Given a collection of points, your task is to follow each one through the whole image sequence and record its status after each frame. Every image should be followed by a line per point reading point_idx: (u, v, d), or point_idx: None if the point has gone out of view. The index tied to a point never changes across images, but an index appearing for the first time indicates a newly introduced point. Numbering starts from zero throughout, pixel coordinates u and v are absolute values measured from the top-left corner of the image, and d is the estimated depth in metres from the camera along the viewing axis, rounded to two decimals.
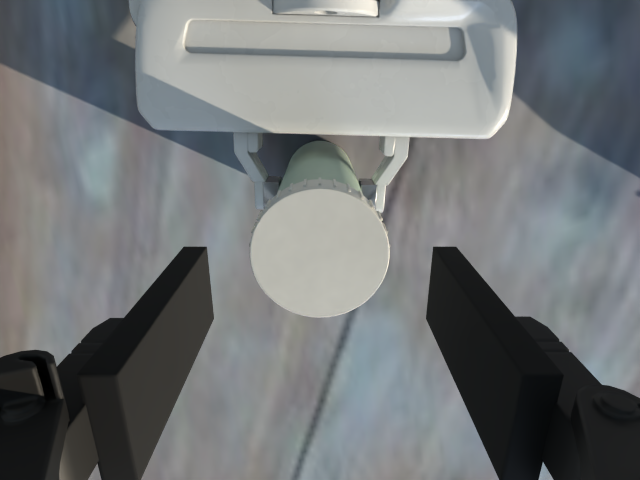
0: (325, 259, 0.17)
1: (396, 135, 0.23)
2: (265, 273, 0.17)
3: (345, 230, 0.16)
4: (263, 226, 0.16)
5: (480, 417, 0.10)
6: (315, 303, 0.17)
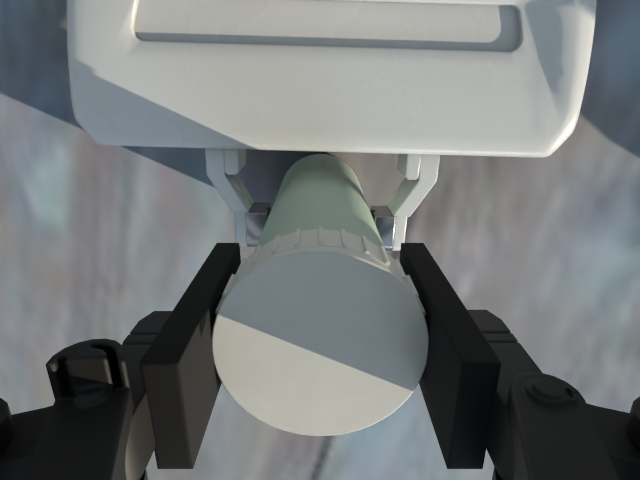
0: (329, 356, 0.11)
1: (423, 152, 0.17)
2: (236, 375, 0.11)
3: (361, 314, 0.10)
4: (231, 307, 0.10)
5: (433, 406, 0.10)
6: (314, 416, 0.11)
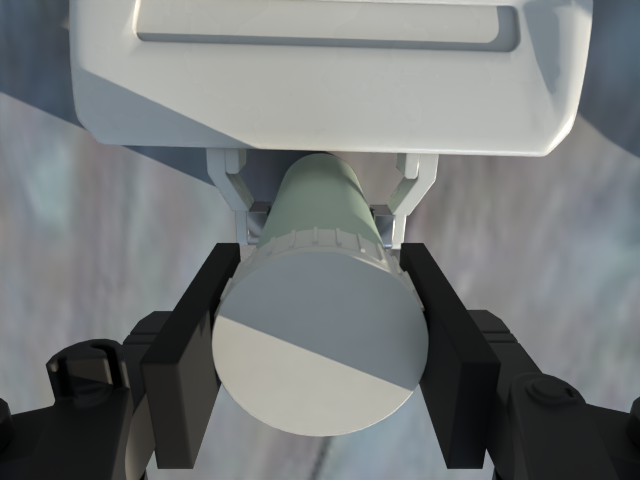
0: (318, 343, 0.10)
1: (422, 152, 0.17)
2: (387, 398, 0.11)
3: (261, 344, 0.11)
4: (323, 429, 0.11)
5: (433, 406, 0.10)
6: (395, 318, 0.10)
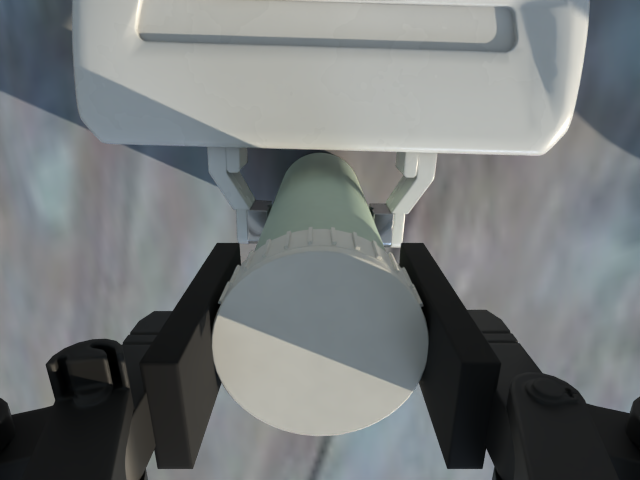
0: (312, 357, 0.11)
1: (421, 151, 0.17)
2: (330, 270, 0.10)
3: (342, 396, 0.11)
4: (405, 302, 0.10)
5: (433, 406, 0.10)
6: (245, 316, 0.10)
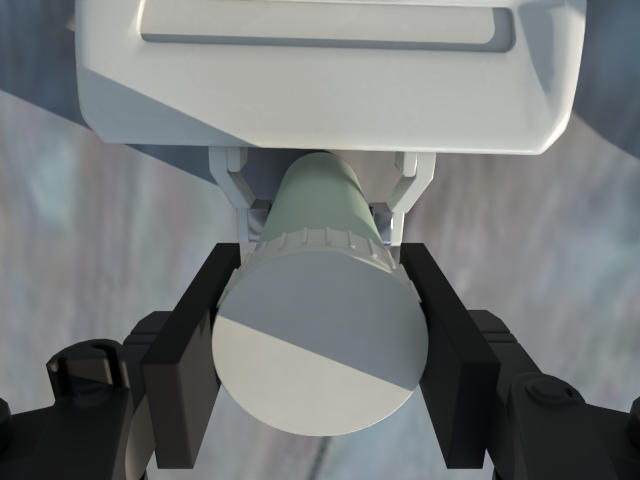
0: (329, 355, 0.11)
1: (420, 150, 0.18)
2: (241, 385, 0.11)
3: (354, 309, 0.10)
4: (225, 319, 0.10)
5: (433, 406, 0.10)
6: (324, 417, 0.11)
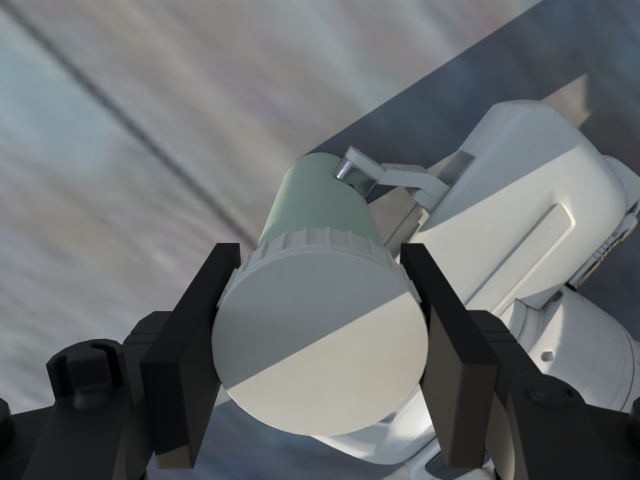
0: (329, 355, 0.11)
1: None
2: (241, 385, 0.11)
3: (354, 309, 0.10)
4: (225, 318, 0.10)
5: (433, 406, 0.10)
6: (324, 417, 0.11)
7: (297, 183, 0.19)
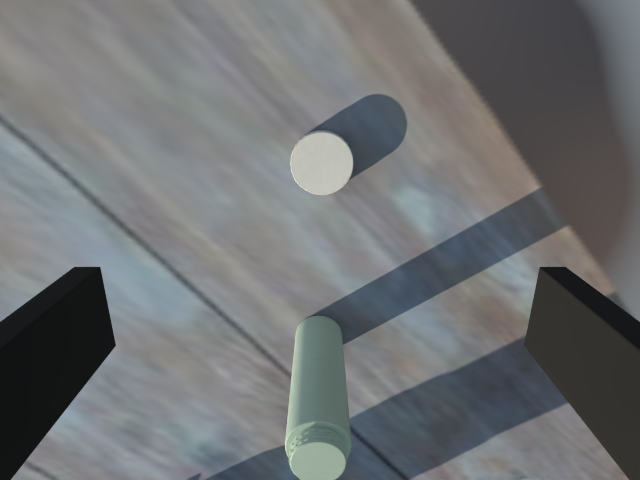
0: (324, 165, 0.37)
1: None
2: (298, 175, 0.37)
3: (331, 150, 0.36)
4: (295, 153, 0.36)
5: None
6: (323, 187, 0.38)
7: (306, 363, 0.37)
